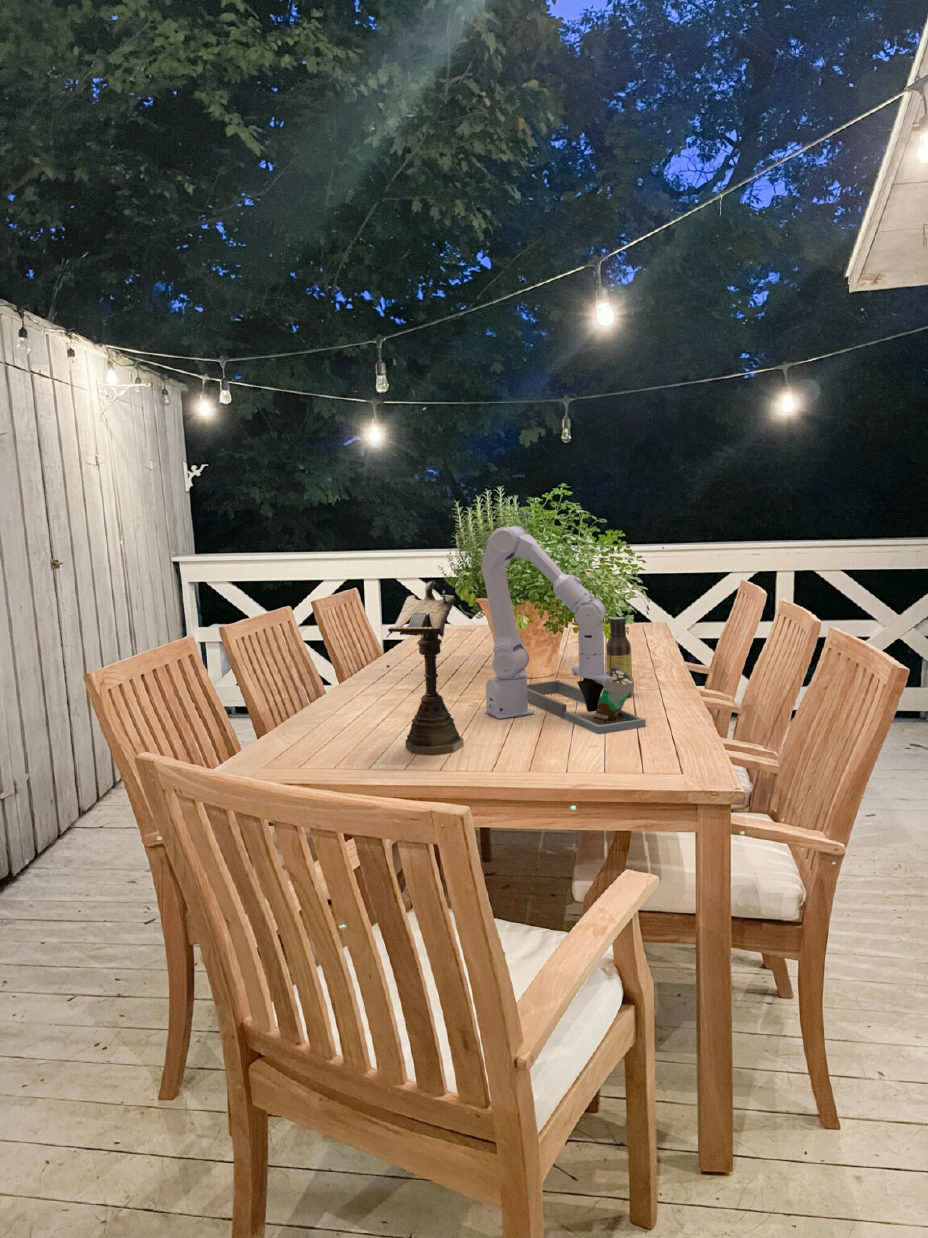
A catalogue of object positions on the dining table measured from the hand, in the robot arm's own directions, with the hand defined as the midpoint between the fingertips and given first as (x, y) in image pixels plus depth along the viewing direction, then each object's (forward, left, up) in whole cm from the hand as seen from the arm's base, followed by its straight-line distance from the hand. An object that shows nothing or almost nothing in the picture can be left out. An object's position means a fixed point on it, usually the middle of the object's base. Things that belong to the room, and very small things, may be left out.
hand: (592, 711), depth 190 cm
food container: (+3, -3, -1) cm, 4 cm away
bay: (0, -4, -1) cm, 4 cm away
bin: (0, +15, -1) cm, 15 cm away
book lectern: (-41, -6, -2) cm, 41 cm away
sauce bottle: (+17, +15, -2) cm, 23 cm away
